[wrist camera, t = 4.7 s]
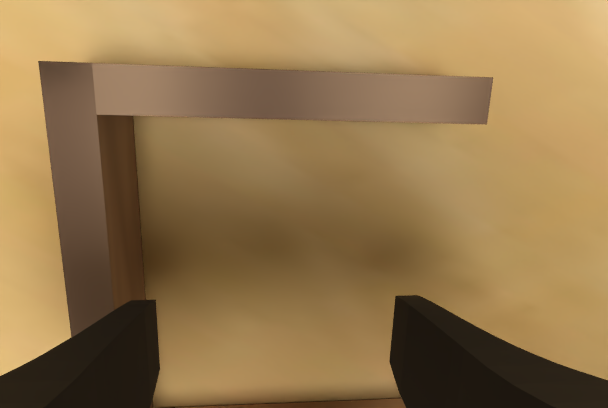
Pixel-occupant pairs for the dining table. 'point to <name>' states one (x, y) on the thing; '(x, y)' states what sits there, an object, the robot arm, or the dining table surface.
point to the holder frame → (195, 103)
